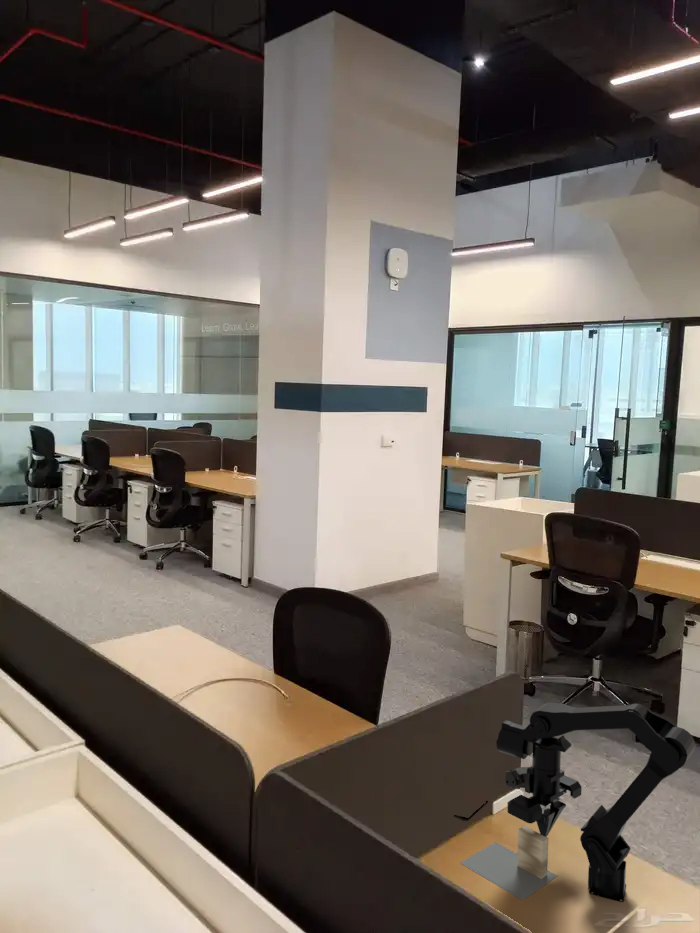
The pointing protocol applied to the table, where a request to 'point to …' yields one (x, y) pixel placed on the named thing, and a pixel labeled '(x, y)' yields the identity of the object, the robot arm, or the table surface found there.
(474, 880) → the table surface
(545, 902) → the table surface
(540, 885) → the mat
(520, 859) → the tile
